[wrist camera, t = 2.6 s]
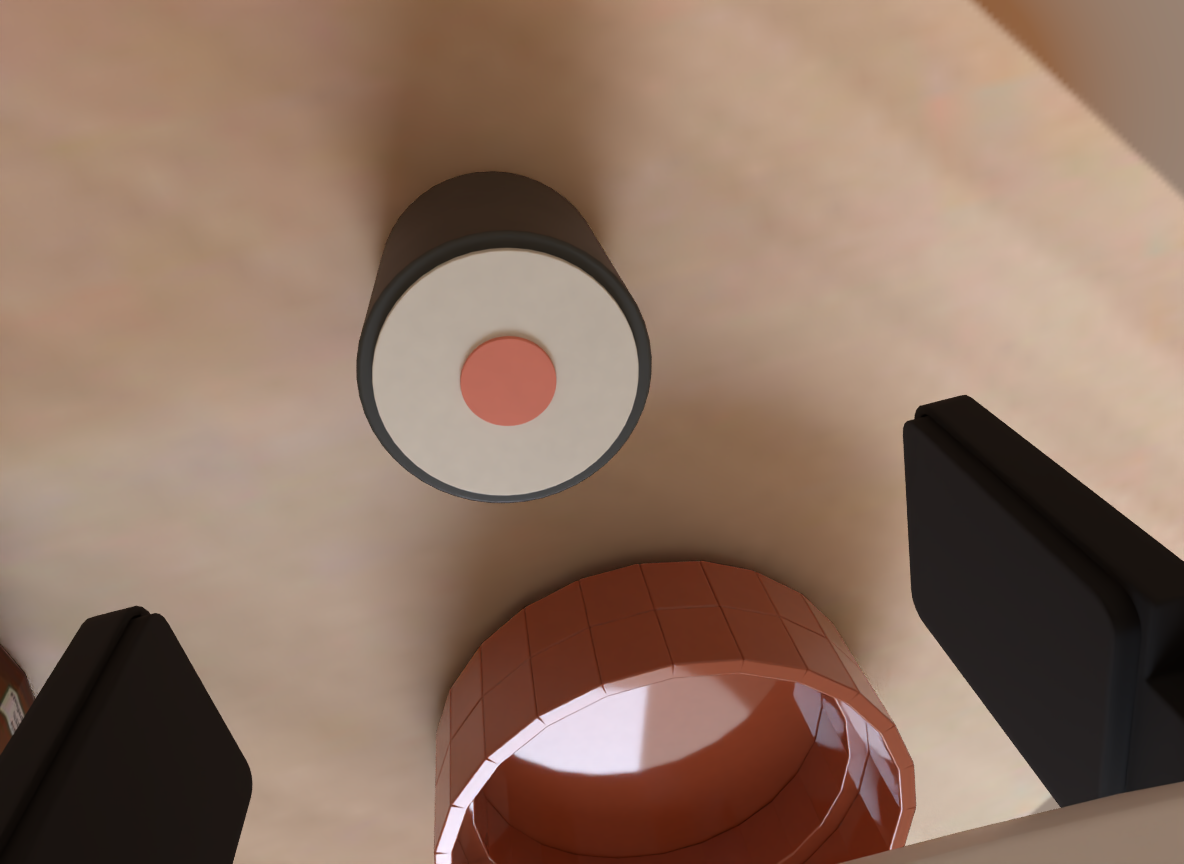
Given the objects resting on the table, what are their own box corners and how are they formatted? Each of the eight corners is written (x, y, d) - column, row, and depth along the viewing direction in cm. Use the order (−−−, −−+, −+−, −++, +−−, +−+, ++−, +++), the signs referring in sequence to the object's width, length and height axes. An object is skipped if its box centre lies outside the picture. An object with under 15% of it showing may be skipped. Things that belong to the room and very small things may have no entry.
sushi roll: (347, 203, 20) (307, 279, 15) (577, 145, 20) (624, 199, 15) (419, 410, 23) (409, 541, 17) (623, 357, 23) (678, 470, 18)
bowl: (378, 619, 26) (363, 748, 21) (828, 499, 26) (906, 600, 22) (500, 903, 32) (508, 1047, 28) (859, 803, 33) (923, 929, 28)
